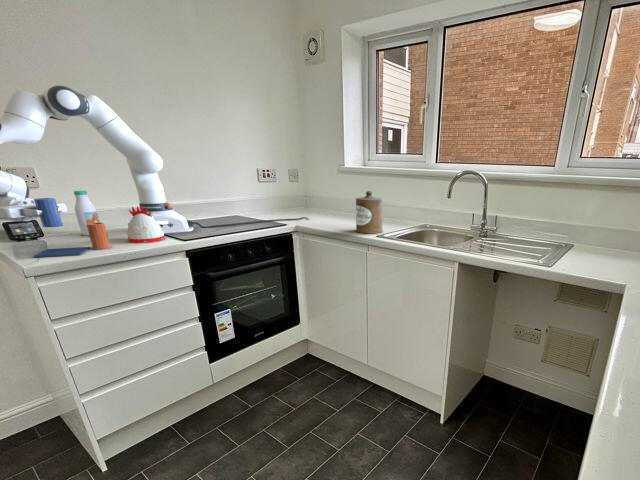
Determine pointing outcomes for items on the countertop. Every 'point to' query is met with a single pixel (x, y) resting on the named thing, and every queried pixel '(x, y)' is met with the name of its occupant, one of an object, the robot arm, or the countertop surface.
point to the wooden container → (369, 214)
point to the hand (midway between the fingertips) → (50, 211)
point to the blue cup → (48, 212)
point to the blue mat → (62, 252)
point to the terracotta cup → (98, 235)
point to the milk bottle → (84, 211)
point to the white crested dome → (143, 228)
